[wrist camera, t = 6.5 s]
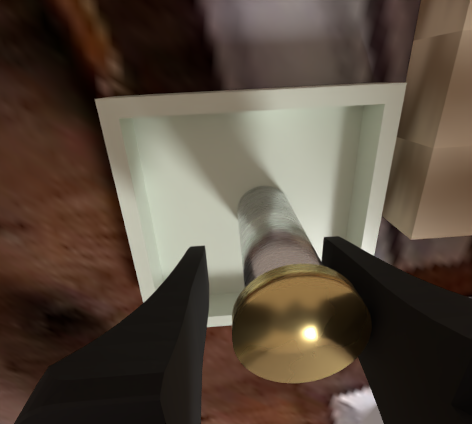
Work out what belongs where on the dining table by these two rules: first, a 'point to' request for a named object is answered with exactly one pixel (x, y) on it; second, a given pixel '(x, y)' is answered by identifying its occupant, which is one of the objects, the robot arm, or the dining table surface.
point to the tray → (246, 170)
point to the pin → (291, 298)
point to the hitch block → (435, 128)
